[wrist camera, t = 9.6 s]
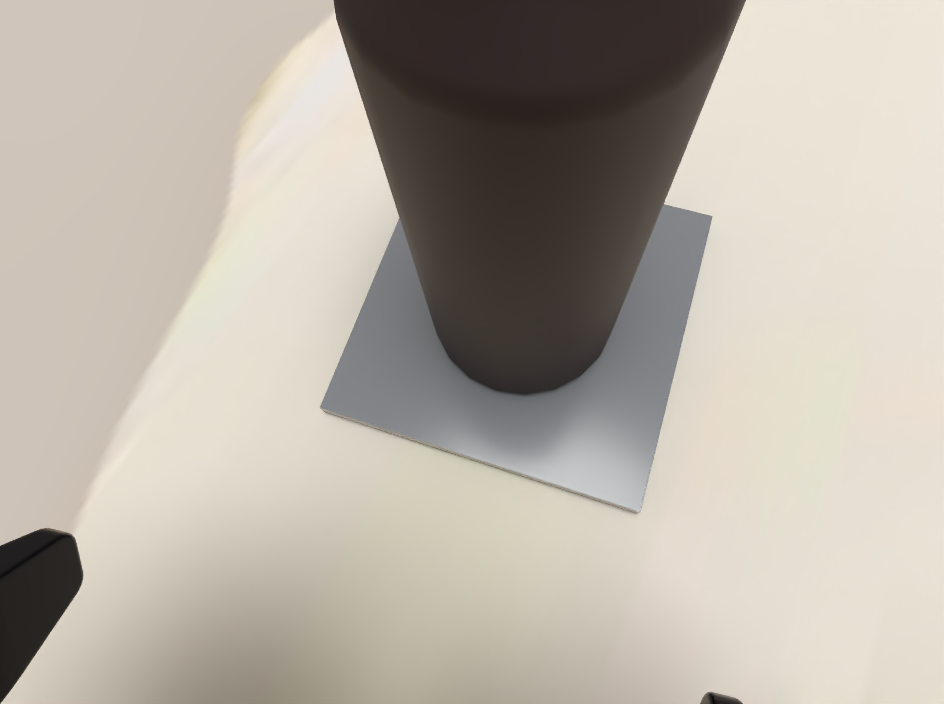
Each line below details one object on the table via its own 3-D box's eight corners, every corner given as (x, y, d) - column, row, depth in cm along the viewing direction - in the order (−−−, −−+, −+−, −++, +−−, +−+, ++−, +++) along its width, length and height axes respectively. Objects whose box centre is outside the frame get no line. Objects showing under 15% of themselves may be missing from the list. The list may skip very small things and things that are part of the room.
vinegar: (641, 363, 23) (1200, -560, 4) (465, 422, 23) (239, -301, 4) (574, 212, 25) (748, -824, 7) (413, 263, 25) (114, -671, 6)
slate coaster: (637, 513, 22) (640, 511, 21) (324, 411, 24) (319, 407, 23) (708, 224, 26) (712, 216, 25) (430, 156, 27) (429, 147, 27)
